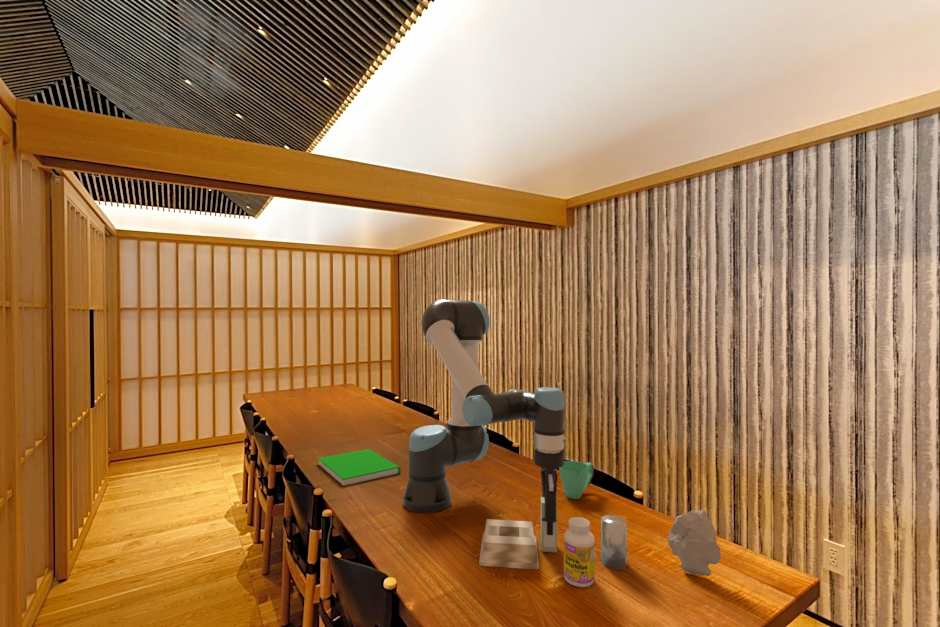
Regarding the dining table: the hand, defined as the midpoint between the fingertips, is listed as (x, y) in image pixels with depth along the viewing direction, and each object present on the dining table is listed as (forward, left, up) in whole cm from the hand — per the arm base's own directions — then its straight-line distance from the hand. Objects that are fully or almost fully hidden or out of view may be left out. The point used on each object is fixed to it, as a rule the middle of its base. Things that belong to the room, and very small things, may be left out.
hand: (548, 541), depth 108 cm
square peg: (0, 0, -2) cm, 2 cm away
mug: (+13, +36, -2) cm, 38 cm away
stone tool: (+32, -8, -2) cm, 33 cm away
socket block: (-10, -3, -2) cm, 11 cm away
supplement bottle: (+6, -13, -2) cm, 14 cm away
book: (-69, +51, -2) cm, 86 cm away
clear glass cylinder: (+15, -5, -2) cm, 16 cm away
